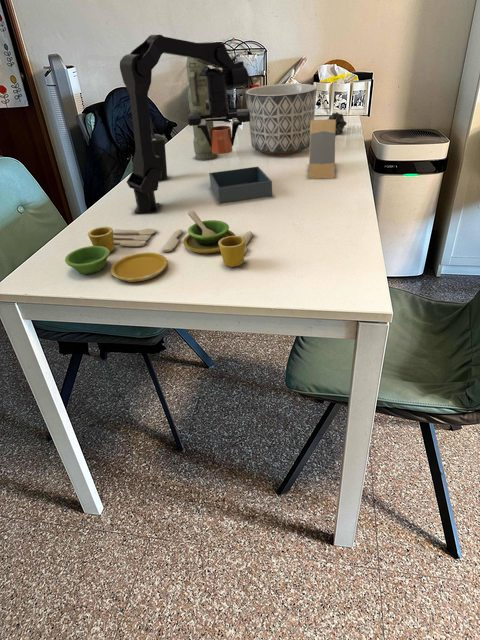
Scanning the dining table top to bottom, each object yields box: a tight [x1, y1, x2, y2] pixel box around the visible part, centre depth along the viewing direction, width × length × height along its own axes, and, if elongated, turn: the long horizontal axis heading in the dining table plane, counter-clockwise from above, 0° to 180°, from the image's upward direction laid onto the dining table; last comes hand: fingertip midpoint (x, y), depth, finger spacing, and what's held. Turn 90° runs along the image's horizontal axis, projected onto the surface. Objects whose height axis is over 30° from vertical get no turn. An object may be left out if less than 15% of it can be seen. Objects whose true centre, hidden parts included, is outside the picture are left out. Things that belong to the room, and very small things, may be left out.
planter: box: [245, 83, 318, 157], centre depth 171 cm, size 26×26×22 cm
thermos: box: [185, 57, 218, 161], centre depth 167 cm, size 9×12×35 cm
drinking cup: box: [150, 117, 168, 182], centre depth 152 cm, size 8×8×20 cm
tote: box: [208, 166, 273, 205], centre depth 139 cm, size 16×16×5 cm
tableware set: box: [64, 209, 254, 283], centre depth 106 cm, size 41×28×6 cm
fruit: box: [327, 112, 348, 135], centre depth 194 cm, size 9×8×15 cm
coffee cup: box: [210, 125, 233, 155], centre depth 140 cm, size 6×6×7 cm
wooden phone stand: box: [308, 119, 337, 179], centre depth 148 cm, size 9×15×15 cm, turn 172°
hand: (221, 146), depth 142 cm, fingers closed on coffee cup, 6 cm apart
